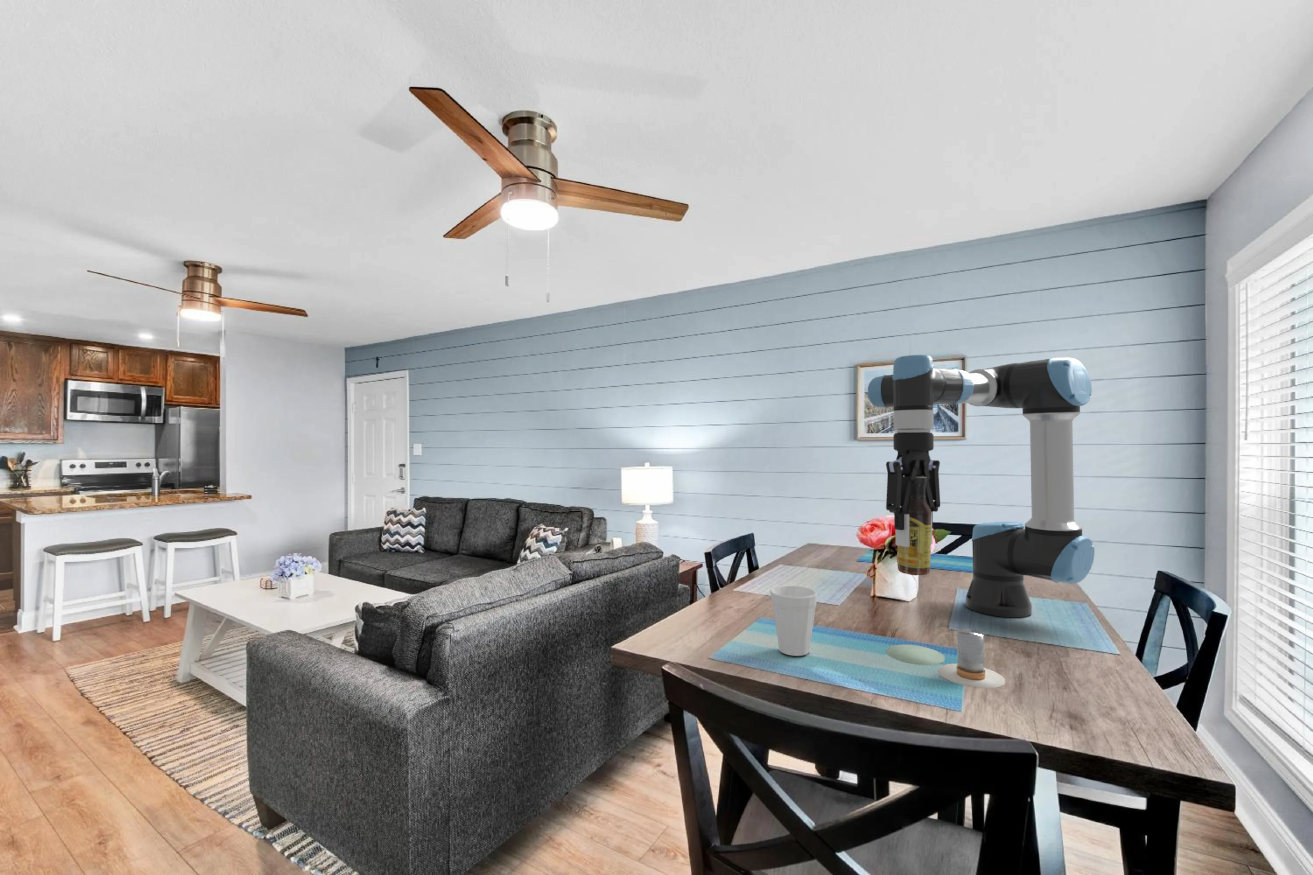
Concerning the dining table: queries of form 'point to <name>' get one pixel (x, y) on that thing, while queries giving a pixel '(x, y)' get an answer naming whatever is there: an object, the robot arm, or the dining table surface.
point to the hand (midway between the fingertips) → (914, 543)
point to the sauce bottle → (917, 533)
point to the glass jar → (970, 654)
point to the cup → (794, 618)
